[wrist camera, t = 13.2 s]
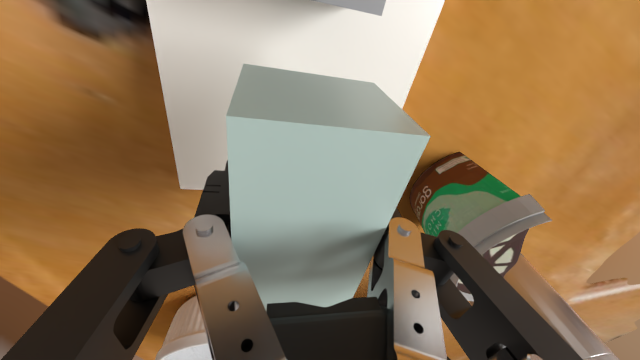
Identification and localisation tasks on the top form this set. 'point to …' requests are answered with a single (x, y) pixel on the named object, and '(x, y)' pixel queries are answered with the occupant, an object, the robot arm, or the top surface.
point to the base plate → (274, 57)
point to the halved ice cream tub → (475, 211)
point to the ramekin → (186, 335)
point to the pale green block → (314, 179)
